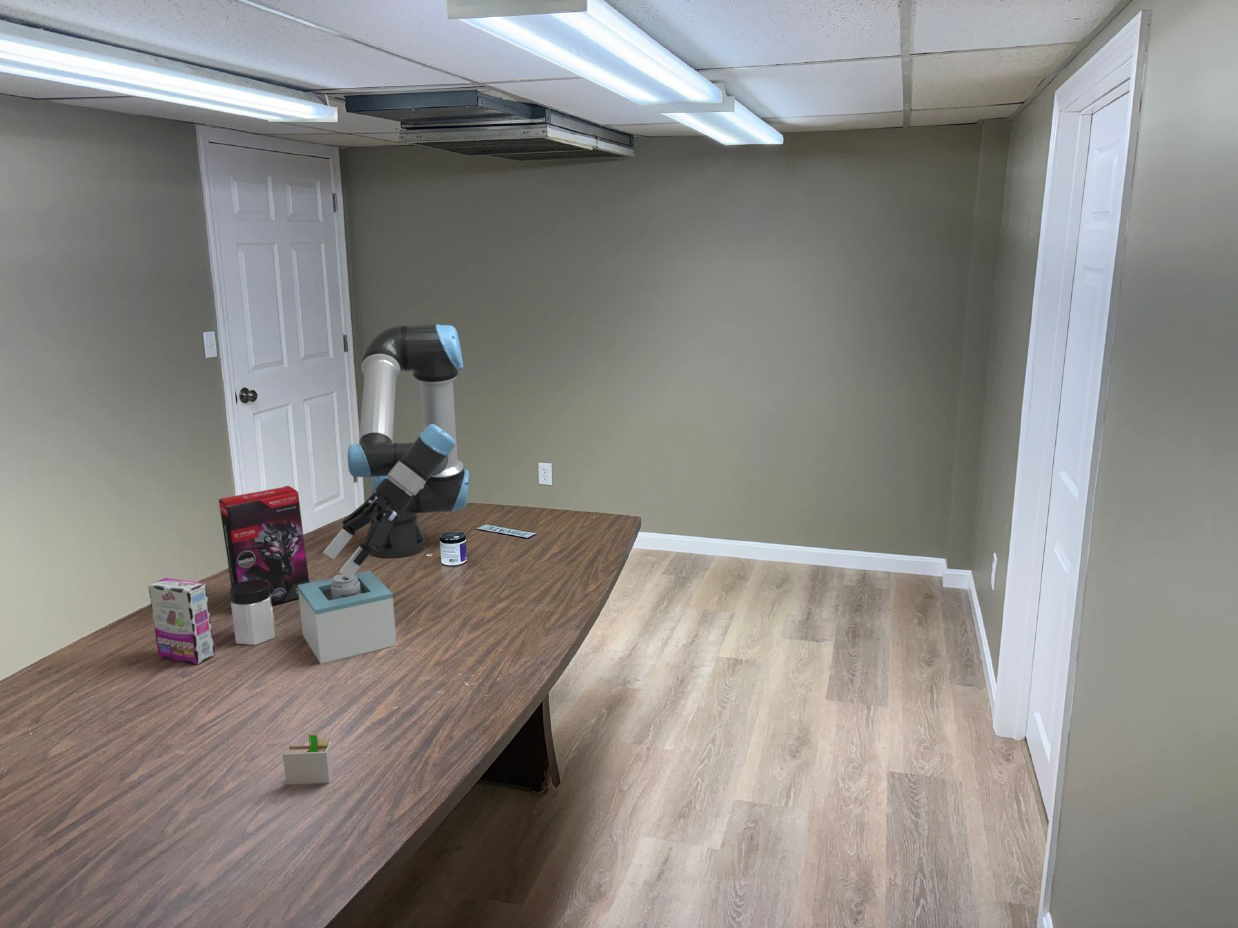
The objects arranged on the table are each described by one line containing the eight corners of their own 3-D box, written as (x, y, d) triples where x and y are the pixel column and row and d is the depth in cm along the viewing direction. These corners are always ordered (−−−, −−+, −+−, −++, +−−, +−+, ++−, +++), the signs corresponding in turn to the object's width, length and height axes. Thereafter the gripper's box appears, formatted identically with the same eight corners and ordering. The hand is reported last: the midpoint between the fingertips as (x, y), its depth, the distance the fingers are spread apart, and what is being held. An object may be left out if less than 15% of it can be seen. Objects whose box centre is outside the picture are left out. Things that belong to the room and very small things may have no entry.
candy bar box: (216, 655, 185) (207, 582, 181) (198, 665, 180) (188, 591, 176) (176, 647, 188) (166, 576, 184) (157, 657, 184) (146, 584, 180)
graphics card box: (240, 615, 204) (226, 504, 198) (230, 606, 209) (217, 497, 203) (311, 596, 215) (301, 490, 209) (300, 588, 220) (289, 484, 214)
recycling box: (302, 635, 194) (297, 585, 191) (374, 619, 202) (370, 570, 199) (320, 663, 180) (315, 610, 177) (396, 645, 189) (392, 593, 186)
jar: (275, 642, 190) (269, 591, 187) (234, 648, 188) (228, 596, 185) (275, 626, 199) (270, 576, 196) (237, 631, 196) (230, 581, 193)
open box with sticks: (294, 772, 144) (289, 728, 142) (335, 770, 145) (331, 727, 143) (286, 786, 140) (281, 742, 138) (329, 785, 141) (325, 740, 139)
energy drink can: (355, 632, 195) (350, 569, 191) (370, 640, 191) (364, 577, 187) (330, 641, 190) (324, 577, 186) (345, 650, 186) (338, 585, 182)
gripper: (432, 511, 181) (366, 593, 178) (395, 483, 202) (335, 557, 198) (405, 490, 177) (337, 574, 174) (370, 464, 198) (308, 539, 194)
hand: (336, 565), depth 186 cm, fingers open, 13 cm apart
